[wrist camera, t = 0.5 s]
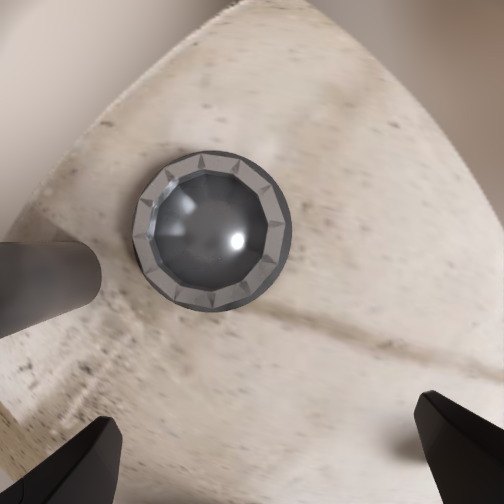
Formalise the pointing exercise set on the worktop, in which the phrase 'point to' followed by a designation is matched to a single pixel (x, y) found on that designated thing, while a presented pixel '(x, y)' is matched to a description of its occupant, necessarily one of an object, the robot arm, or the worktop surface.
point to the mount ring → (212, 231)
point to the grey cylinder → (44, 281)
